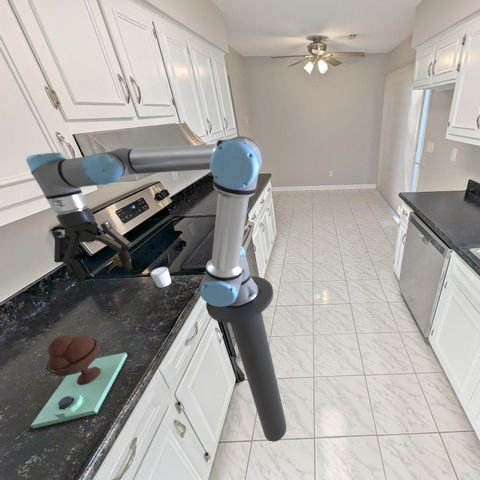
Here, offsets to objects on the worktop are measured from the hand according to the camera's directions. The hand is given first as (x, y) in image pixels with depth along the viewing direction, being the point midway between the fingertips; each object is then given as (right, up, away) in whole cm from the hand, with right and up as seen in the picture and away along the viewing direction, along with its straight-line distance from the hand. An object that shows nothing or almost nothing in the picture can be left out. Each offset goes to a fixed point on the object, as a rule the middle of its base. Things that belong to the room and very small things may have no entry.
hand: (106, 274), depth 80 cm
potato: (-33, -2, +51) cm, 61 cm away
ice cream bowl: (+1, -29, -7) cm, 29 cm away
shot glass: (-3, -9, +35) cm, 36 cm away
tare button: (+3, -31, -15) cm, 35 cm away
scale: (+1, -31, -8) cm, 32 cm away
